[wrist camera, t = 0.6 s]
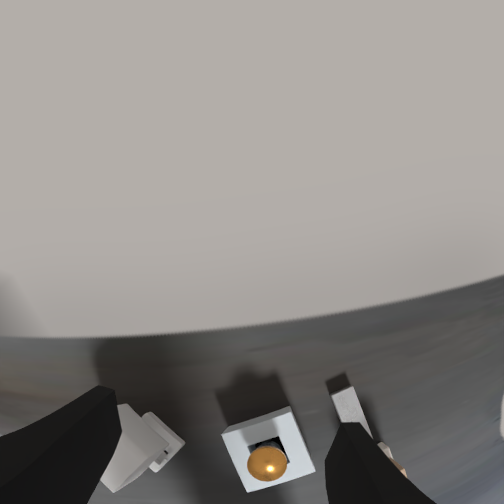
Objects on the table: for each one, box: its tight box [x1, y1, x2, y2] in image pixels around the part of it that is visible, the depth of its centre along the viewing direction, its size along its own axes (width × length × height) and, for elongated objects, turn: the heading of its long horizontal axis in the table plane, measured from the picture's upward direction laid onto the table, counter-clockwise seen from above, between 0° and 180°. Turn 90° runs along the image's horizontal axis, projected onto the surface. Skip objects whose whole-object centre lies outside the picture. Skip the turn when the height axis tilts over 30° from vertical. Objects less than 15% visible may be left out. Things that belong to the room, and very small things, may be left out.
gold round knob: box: [247, 441, 287, 482], centre depth 23 cm, size 3×3×4 cm
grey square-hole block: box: [221, 406, 315, 492], centre depth 26 cm, size 7×7×4 cm
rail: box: [329, 385, 373, 438], centre depth 26 cm, size 13×2×2 cm, turn 21°
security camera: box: [100, 404, 185, 493], centre depth 24 cm, size 6×7×10 cm
